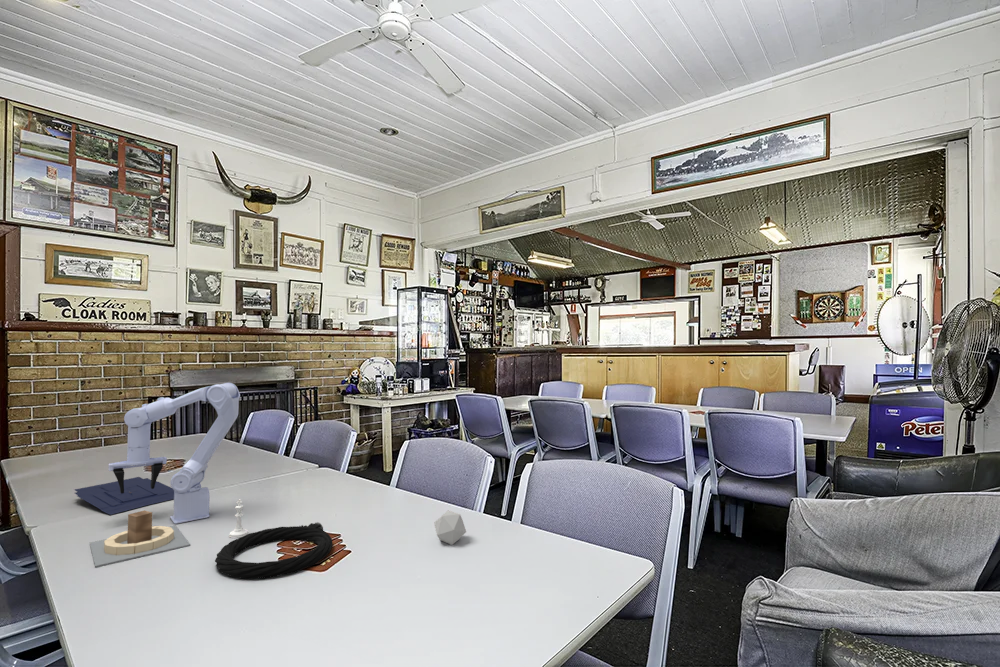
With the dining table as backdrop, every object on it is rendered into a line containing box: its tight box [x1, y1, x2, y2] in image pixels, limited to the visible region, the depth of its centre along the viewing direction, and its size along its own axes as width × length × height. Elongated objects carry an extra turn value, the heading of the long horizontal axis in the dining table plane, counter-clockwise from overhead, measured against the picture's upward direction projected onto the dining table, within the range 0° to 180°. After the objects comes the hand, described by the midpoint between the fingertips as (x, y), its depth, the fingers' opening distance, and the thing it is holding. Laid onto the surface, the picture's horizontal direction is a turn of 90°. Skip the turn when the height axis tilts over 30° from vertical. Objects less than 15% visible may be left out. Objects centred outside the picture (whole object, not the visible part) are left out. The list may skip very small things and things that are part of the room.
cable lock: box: [214, 521, 333, 580], centre depth 128 cm, size 28×4×30 cm
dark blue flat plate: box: [73, 476, 174, 515], centre depth 176 cm, size 24×30×4 cm
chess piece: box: [228, 498, 249, 539], centre depth 142 cm, size 5×5×10 cm
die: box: [434, 510, 467, 546], centre depth 138 cm, size 8×9×10 cm
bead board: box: [89, 524, 191, 568], centre depth 134 cm, size 20×20×2 cm
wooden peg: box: [127, 510, 153, 544], centre depth 135 cm, size 4×4×8 cm
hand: (137, 490), depth 154 cm, fingers open, 7 cm apart
